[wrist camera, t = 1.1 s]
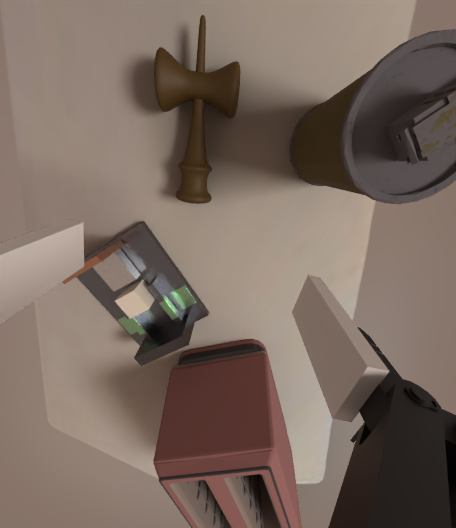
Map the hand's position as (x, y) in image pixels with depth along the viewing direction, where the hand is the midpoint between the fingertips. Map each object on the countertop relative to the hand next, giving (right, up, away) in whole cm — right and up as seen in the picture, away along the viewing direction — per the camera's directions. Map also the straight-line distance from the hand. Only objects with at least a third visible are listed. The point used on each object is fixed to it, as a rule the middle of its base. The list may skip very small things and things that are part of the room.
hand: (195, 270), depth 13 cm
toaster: (+4, -31, +40) cm, 51 cm away
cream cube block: (-14, -5, +27) cm, 31 cm away
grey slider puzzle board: (-14, -4, +29) cm, 32 cm away
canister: (+16, +17, +19) cm, 30 cm away
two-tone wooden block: (-17, 0, +25) cm, 30 cm away
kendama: (-2, +20, +18) cm, 27 cm away
